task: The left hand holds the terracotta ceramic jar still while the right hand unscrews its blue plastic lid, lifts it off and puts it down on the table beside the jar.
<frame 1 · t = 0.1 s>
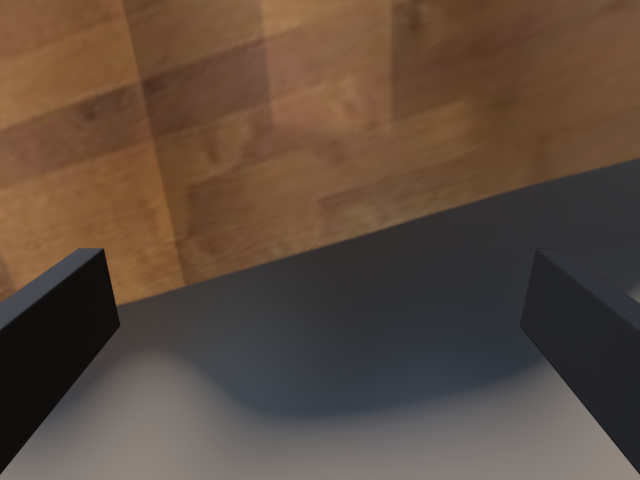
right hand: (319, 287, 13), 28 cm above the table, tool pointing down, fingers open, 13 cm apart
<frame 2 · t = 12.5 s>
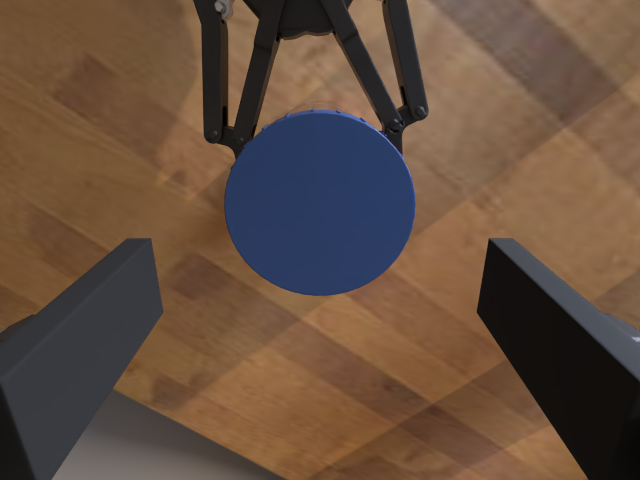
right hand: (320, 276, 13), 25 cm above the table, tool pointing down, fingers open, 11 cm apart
left hand: (326, 223, 32), fingers closed on jar, 8 cm apart
lid: (319, 210, 20), point 18 cm above the table, screwed on, not yet turned
jar: (319, 150, 36), on the table, touching left hand
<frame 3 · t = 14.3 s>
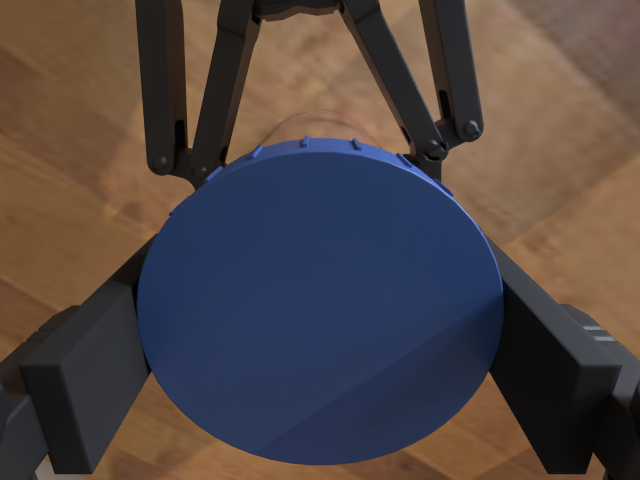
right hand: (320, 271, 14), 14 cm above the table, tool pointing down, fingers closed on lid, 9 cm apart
left hand: (329, 282, 23), fingers closed on jar, 8 cm apart
lid: (320, 326, 11), point 18 cm above the table, screwed on, not yet turned, touching right hand
jar: (320, 176, 27), on the table, touching left hand
when the right hand's fingers open (14 cm above the table, at t = 15.8 s): lid stays where it is, point 18 cm above the table.
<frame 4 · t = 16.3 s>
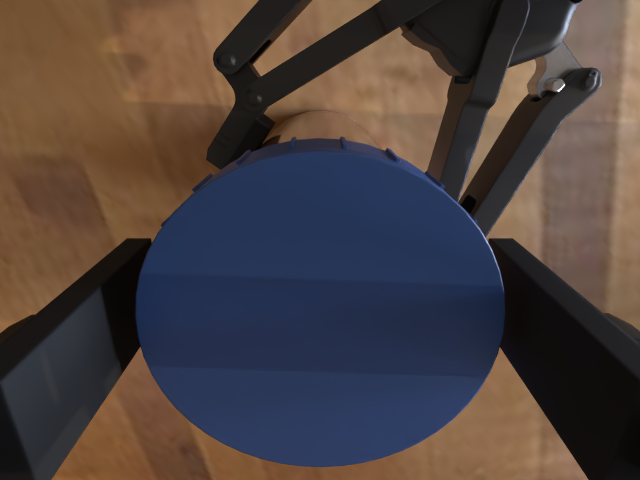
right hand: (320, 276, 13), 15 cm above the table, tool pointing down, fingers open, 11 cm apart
left hand: (271, 267, 23), fingers closed on jar, 8 cm apart
lid: (320, 328, 11), point 18 cm above the table, turned 91° so far, risen 0.2 cm, still on its thread
jar: (320, 175, 27), on the table, touching left hand
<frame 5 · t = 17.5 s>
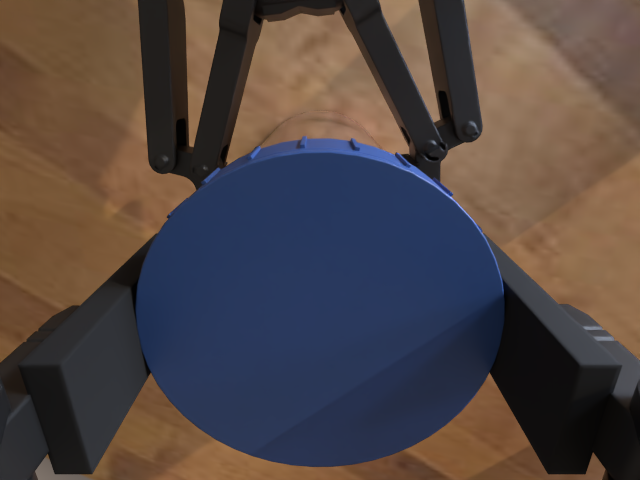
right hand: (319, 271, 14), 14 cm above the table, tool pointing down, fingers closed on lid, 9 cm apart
left hand: (328, 281, 23), fingers closed on jar, 8 cm apart
lid: (320, 328, 11), point 18 cm above the table, turned 91° so far, risen 0.2 cm, still on its thread, touching right hand
jar: (320, 175, 27), on the table, touching left hand
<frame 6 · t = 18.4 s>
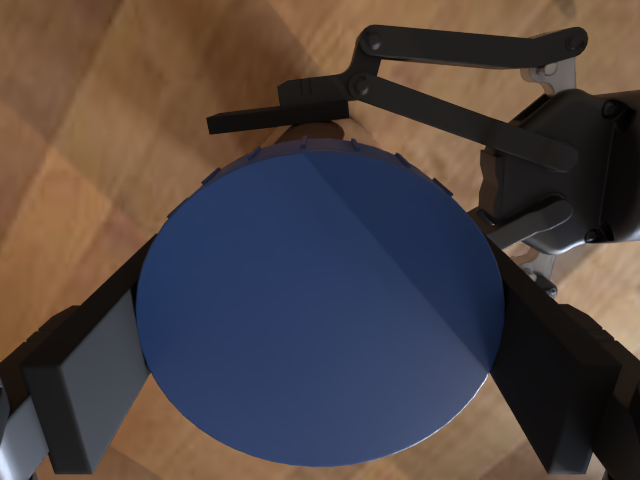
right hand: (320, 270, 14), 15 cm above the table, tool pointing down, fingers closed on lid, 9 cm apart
left hand: (233, 210, 22), fingers closed on jar, 8 cm apart
lid: (320, 328, 11), point 18 cm above the table, off its thread, touching right hand
jar: (320, 174, 27), on the table, touching left hand
when the right hand's fingers open (0 cm above the table, at t = 25.0 s): lid drops 2 cm, point 2 cm above the table.
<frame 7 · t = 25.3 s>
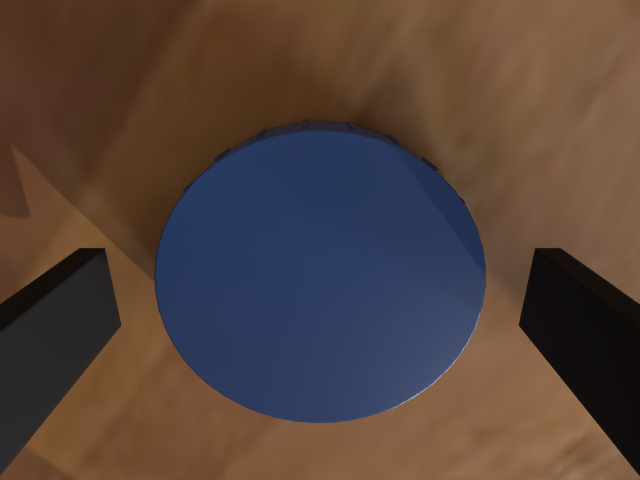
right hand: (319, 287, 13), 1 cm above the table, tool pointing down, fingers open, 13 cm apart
lid: (320, 292, 12), point 2 cm above the table, off its thread
when the left hand's fingers open (6 cm above the table, at t = 26.0 s): jar stays where it is, on the table.
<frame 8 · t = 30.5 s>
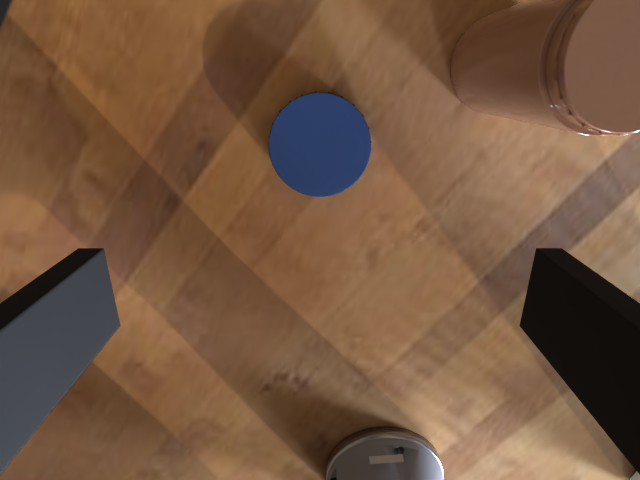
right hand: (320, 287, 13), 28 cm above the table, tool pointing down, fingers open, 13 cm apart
lid: (319, 146, 37), point 2 cm above the table, off its thread
jar: (497, 64, 36), on the table
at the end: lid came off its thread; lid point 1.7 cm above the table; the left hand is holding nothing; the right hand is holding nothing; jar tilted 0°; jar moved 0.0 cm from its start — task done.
